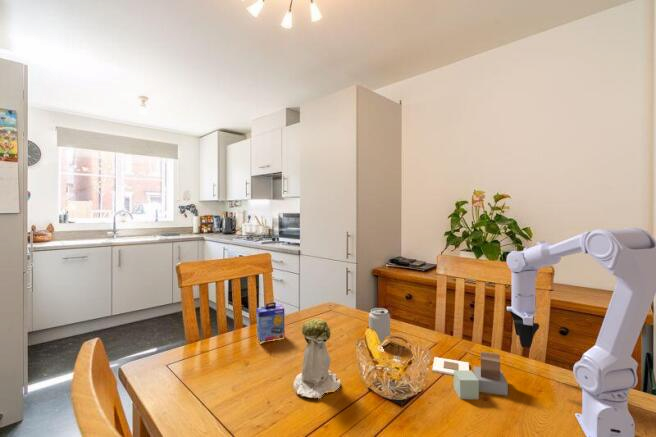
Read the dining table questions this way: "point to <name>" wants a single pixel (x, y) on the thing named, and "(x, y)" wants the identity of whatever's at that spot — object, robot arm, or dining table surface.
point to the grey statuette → (315, 362)
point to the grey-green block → (466, 384)
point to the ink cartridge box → (270, 322)
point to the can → (380, 322)
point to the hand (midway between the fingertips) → (523, 340)
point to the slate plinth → (491, 383)
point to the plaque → (448, 365)
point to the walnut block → (490, 365)
